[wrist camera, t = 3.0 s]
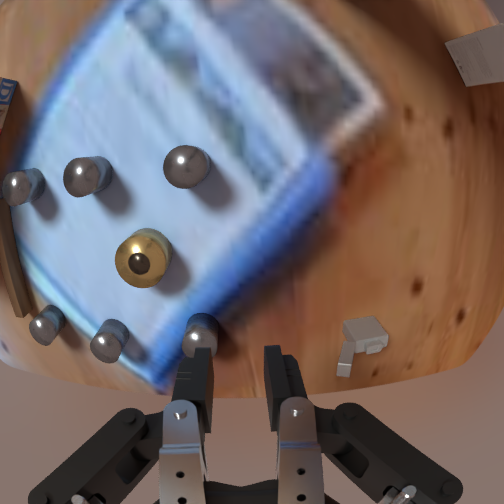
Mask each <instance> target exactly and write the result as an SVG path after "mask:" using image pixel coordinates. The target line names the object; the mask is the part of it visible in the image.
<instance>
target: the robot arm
mask: <svg viewBox="0 0 504 504" xmlns="http://www.w3.org/2000/svg"><path fill="white" fill-rule="evenodd" d="M264 381H265V389H266V397H267V404H268V412H269V419H270V426H271V431H277V436H278V440H277V460H276V479H274V480H267V481H263V482H259V483H256V484H252V485H248V486H243V487H239V486H233V485H228V484H223V483H218V482H214V481H209V476H208V469H207V461H206V455H205V446H204V441H205V433H211V422H212V404H213V389H214V370H213V361H212V352H211V347H196V348H195V353H194V358H192V357H185V358H184V359H183V360H182V362H181V363H180V364H179V368H178V373H177V377H176V382H175V387H174V391H173V396H172V401H171V402H170V403H169V404H167V406H165V408H164V410H163V411H162V412H159V413H155V414H149V415H144V414H143V412H141V411H140V410H138V409H135V408H126V409H123V410H121V411H120V412H118V413H117V414H116V415H115V416H114V417H113V418H111V419H110V420H109V421H108V422H107V423H106V424H105V425H104V426H103V427H102V428H101V429H100V430H98V431H97V432H96V433H95V434H94V435H93V436H92V437H91V438H90V439H89V440H88V441H86V442H85V443H84V444H83V445H82V446H81V447H80V448H79V449H78V450H77V451H75V452H74V453H73V454H72V455H71V456H70V457H69V458H68V459H67V460H66V461H65V462H63V463H62V464H61V465H60V466H59V467H58V468H56V469H55V470H54V471H53V472H52V473H51V474H50V475H49V476H47V477H46V478H45V479H44V480H43V481H42V482H41V483H39V484H38V485H37V486H36V487H35V488H34V489H33V490H32V491H31V492H30V493H29V496H28V504H120V503H121V502H122V501H123V499H125V498H126V496H127V495H128V494H129V493H130V492H131V491H132V490H133V489H134V487H135V486H136V485H137V484H138V483H139V482H140V481H141V480H142V479H143V477H144V476H145V475H146V474H147V473H148V471H149V470H150V469H151V468H152V467H153V466H154V465H155V463H156V462H157V461H158V460H159V493H160V494H159V495H160V499H158V500H157V501H156V502H155V503H154V504H339V503H338V502H337V501H335V500H334V499H332V498H331V497H329V496H328V495H326V494H325V493H324V483H323V469H322V457H321V453H324V454H325V455H326V457H327V458H328V459H329V460H331V462H332V463H333V464H335V465H336V466H337V467H338V468H339V469H340V470H341V471H342V472H343V473H344V474H345V475H346V476H347V477H348V478H349V479H350V480H351V481H352V482H353V483H355V484H356V485H357V486H358V487H359V488H360V489H361V490H362V491H363V492H364V493H366V494H367V495H368V496H369V497H370V498H371V499H372V500H373V501H375V502H376V503H377V504H454V503H456V502H457V501H458V500H459V499H460V497H461V496H462V493H463V485H462V483H461V481H460V480H459V479H458V478H457V477H455V476H454V475H452V474H451V473H449V472H448V471H447V470H445V469H444V468H442V467H441V466H439V465H438V464H437V463H435V462H434V461H433V460H431V459H430V458H428V457H427V456H426V455H424V454H423V453H421V452H420V451H419V450H418V449H416V448H415V447H413V446H412V445H411V444H409V443H408V442H407V441H406V440H404V439H403V438H402V437H400V436H399V435H398V434H396V433H395V432H394V431H392V430H391V429H390V428H388V427H387V426H386V425H385V424H383V423H382V422H381V421H379V420H378V419H377V418H376V417H374V416H373V415H372V414H371V413H369V412H368V411H367V410H366V409H364V408H363V407H362V406H360V405H358V404H356V403H343V404H340V405H339V406H337V407H336V409H335V410H332V409H323V408H319V407H317V406H315V405H313V403H312V402H311V401H310V400H308V398H307V394H306V391H305V387H304V384H303V380H302V376H301V373H300V370H299V366H298V362H297V360H296V359H295V358H294V357H293V356H292V355H282V353H281V348H280V345H273V346H264Z"/></svg>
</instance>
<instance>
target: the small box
mask: <svg viewBox="0 0 504 504" xmlns="http://www.w3.org/2000/svg"><path fill="white" fill-rule="evenodd" d="M445 45H446V47H447V49H448V51H449V53H450V55H451V57H452V59H453V61H454V63H455V64H456V67H457V69H458V71H459V73H460V75H461V77H462V79H463V81H464V83H465V85H466V87H470V86H477V85H483V84H490V83H499V82H504V23H502V24H499V25H495V26H492V27H489V28H486V29H483V30H480V31H477V32H474V33H471V34H468V35H465V36H462V37H459V38H456V39H453V40H450V41H448V42H445Z"/></svg>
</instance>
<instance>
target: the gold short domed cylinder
mask: <svg viewBox="0 0 504 504" xmlns="http://www.w3.org/2000/svg"><path fill="white" fill-rule="evenodd" d="M171 258H172V249H171V245H170V243H169V241H168V239H167V238H166V237H165V236H164V235H163V234H162V233H161V232H159V231H157V230H155V229H151V228H144V229H140V230H138V231H136V232H134V233H133V234H132V235H131V236H130V237H129V238H127V239H126V240H125V241H124V242H123V243H122V244H121V245H120V246H119V248H118V249H117V251H116V255H115V265H116V269H117V271H118V273H119V275H120V276H121V278H122V279H123V280H124V281H125V282H127V283H128V284H130V285H132V286H134V287H137V288H148V287H152V286H154V285H155V284H157V283H158V282H159V281H160V280H161V278H162V276H163V274H164V273H165V271H166V269H167V267H168V265H169V263H170V261H171Z"/></svg>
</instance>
